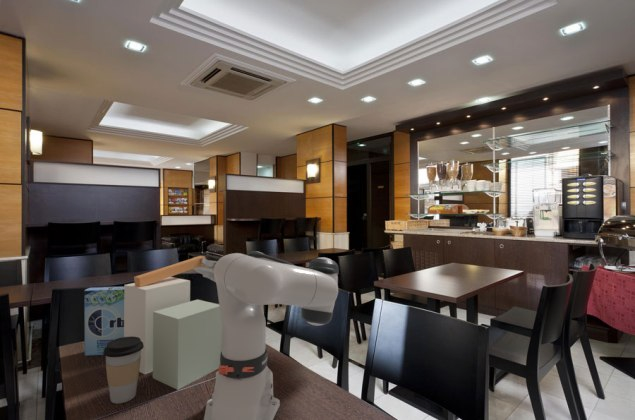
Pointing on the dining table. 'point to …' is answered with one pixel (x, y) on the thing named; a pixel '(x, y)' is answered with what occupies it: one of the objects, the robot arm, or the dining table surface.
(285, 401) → the dining table surface
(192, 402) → the dining table surface
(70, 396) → the dining table surface
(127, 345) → the coffee cup
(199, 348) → the low stand
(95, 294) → the gum box
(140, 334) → the tall stand
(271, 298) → the robot arm
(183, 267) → the orange rod
